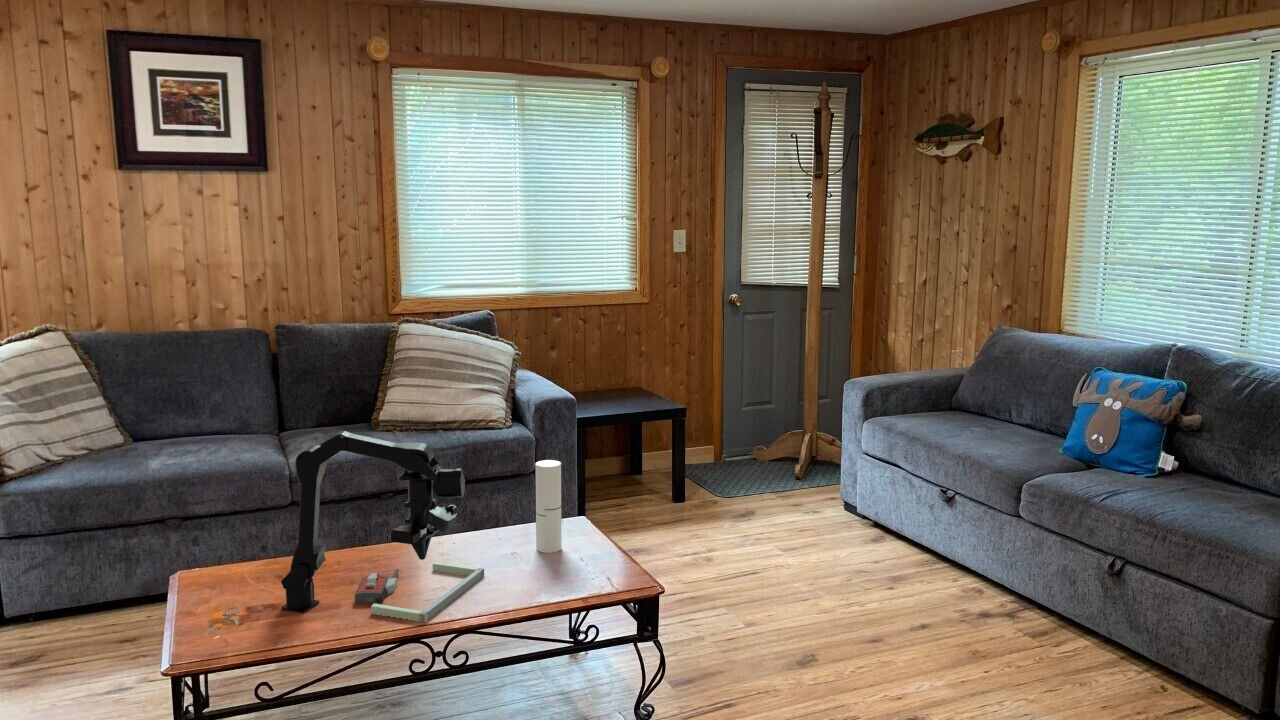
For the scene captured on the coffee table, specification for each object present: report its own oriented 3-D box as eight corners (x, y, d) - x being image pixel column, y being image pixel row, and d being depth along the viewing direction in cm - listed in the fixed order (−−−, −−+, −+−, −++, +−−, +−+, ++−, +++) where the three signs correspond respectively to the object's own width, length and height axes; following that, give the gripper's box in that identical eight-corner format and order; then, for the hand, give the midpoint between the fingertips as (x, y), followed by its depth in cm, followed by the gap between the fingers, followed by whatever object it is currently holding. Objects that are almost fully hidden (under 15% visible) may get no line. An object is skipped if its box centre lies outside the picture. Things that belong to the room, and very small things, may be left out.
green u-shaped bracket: (424, 622, 224) (424, 614, 224) (371, 613, 229) (370, 605, 228) (484, 575, 252) (484, 568, 252) (435, 568, 257) (435, 561, 256)
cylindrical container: (560, 553, 269) (560, 467, 265) (535, 553, 269) (534, 466, 265) (562, 544, 276) (561, 460, 272) (537, 544, 276) (536, 459, 272)
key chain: (212, 611, 230) (212, 607, 230) (245, 607, 232) (245, 604, 232) (203, 634, 218) (203, 630, 218) (237, 630, 220) (237, 627, 220)
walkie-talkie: (390, 606, 234) (401, 574, 254) (389, 589, 233) (401, 558, 253) (353, 607, 233) (367, 575, 253) (352, 590, 232) (367, 559, 252)
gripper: (430, 512, 217) (432, 577, 220) (469, 489, 235) (470, 550, 237) (387, 507, 221) (389, 571, 223) (429, 484, 238) (431, 544, 241)
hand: (422, 559), depth 231 cm, fingers closed
